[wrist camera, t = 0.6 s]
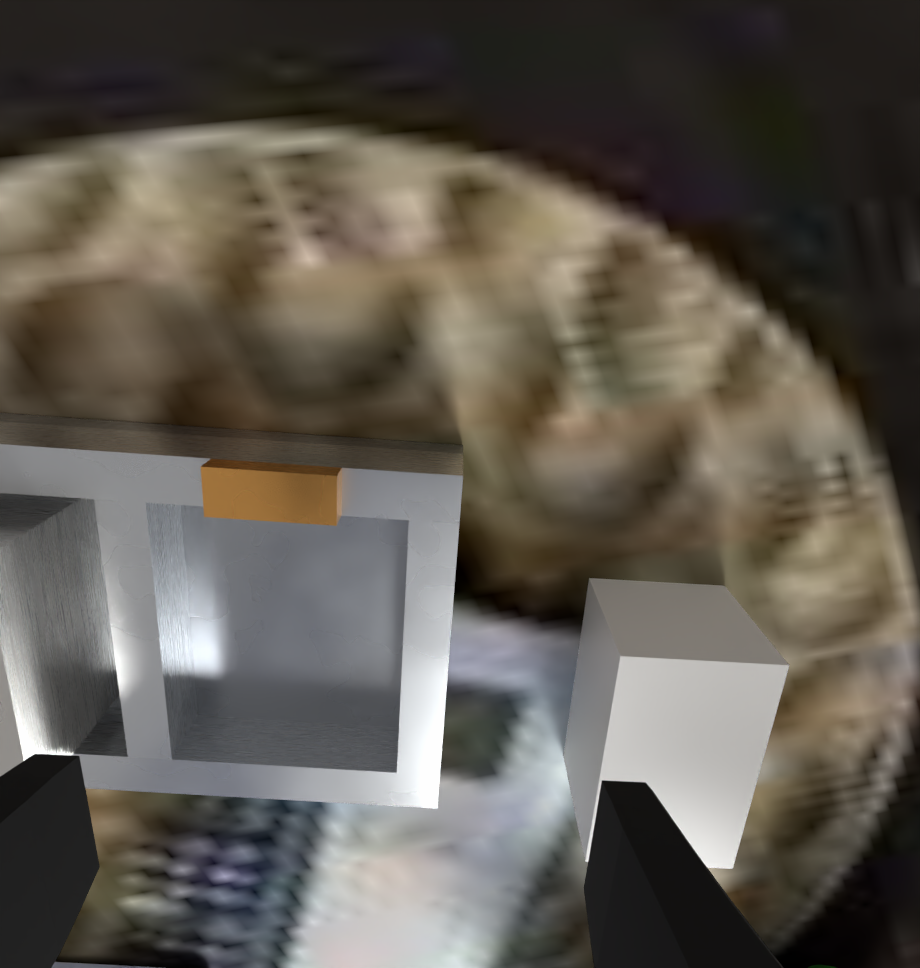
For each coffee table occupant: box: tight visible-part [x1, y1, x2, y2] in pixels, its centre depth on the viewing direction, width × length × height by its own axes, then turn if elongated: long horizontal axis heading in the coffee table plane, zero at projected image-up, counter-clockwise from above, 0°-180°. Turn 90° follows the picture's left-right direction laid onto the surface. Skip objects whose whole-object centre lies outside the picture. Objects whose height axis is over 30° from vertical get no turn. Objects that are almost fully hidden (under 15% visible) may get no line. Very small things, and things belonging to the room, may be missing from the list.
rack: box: [0, 413, 463, 809], centre depth 16 cm, size 10×16×5 cm, turn 86°
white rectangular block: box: [563, 578, 789, 869], centre depth 18 cm, size 6×4×4 cm, turn 177°
